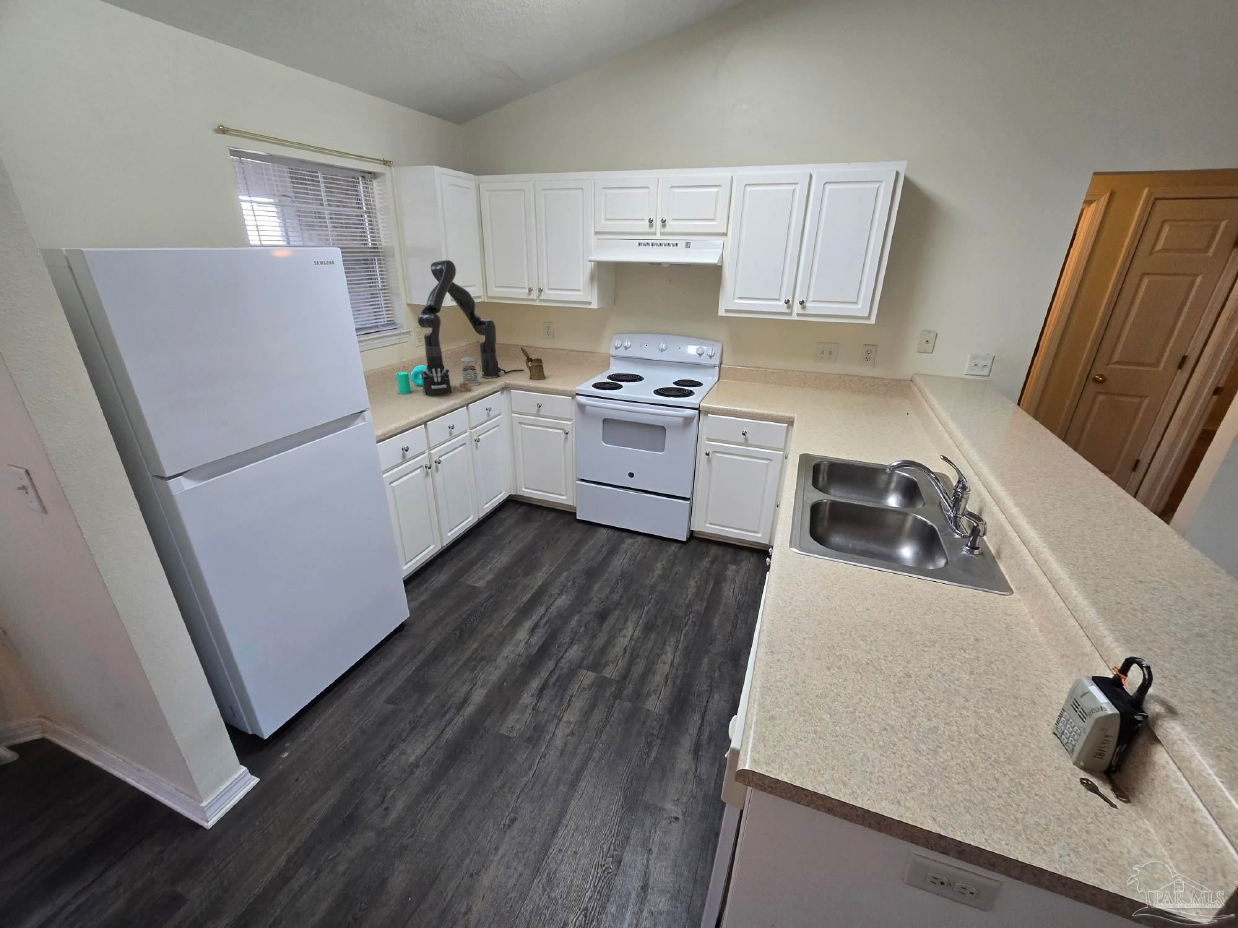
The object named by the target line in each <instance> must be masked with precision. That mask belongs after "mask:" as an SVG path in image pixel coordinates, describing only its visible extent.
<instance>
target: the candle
mask: <svg viewBox="0 0 1238 928" xmlns="http://www.w3.org/2000/svg"><path fill="white" fill-rule="evenodd" d="M395 375H396V381H397V382H396V383H397V388H398V393H399V394H400V395H407V394H411V393H412V391H411V389H412V388H411V383H410V375H409V372H407V371H403V370H402V369H401V371H397V372H396V373H395Z"/></svg>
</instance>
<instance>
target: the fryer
mask: <svg viewBox="0 0 1238 928" xmlns="http://www.w3.org/2000/svg"><path fill="white" fill-rule="evenodd" d="M428 372H429V371H428ZM428 374H429V375H430V376H431V377H432V378H434V377H433V375H432V374H431V373H430V372H429V373H428ZM443 374H444V370H443V371H442V373H441V374H440V377H442V375H443ZM420 376H421V377H422V383H423V386H422V389H423V392H424V395H425V396H428V395H427V388H426V381H425V378H428V377H427V376H426V375H425V374H424V373H423V371H421V374H420ZM436 377H437V375H436ZM446 377H447V378H449V382H450V381H451V379H450V374H449V373H448V374H447V375H446ZM450 383H451V382H450ZM450 390H451V391H452V388H451V386H450Z"/></svg>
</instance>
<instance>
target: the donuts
mask: <svg viewBox="0 0 1238 928" xmlns="http://www.w3.org/2000/svg"><path fill="white" fill-rule="evenodd" d="M426 369H427V365H423V364H422V365H417V366H415V367H414V368H413V370H412V371H411V373H410V380H411V382H412V383H413V384H414V385H415V386H418V387H423V383H422V376H421V371H425V370H426Z"/></svg>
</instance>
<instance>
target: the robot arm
mask: <svg viewBox="0 0 1238 928" xmlns="http://www.w3.org/2000/svg"><path fill="white" fill-rule="evenodd" d="M430 271H431V275H432V276H433V278H434V279H435V280H436V281H437V284H436V285H435V286H434V287H433V288H432V290H431V291H430V293H429V294H428V297H427V300H426V304H425V305H424V307H423V308H422V309H421V310H420V312H419V313H418V316H417V324H418V326H419V327H420V328H423V329H431V331H430V332H426V333H424V334H423V338H424V339H423V340H424V347H425V348H424V349H425V357H426V367H427V369H426V370H425V371H423V373H424V374H425V375H426V376H427V377H428V378H429V379H430V380H431V381H434V382H435V386H439V385H441V380H444V378H445V377H446V375H447V374H449V372H450V370H449V369H448V368H447V367H445V365H444V362H443V361H444V360H443V352H442V347H441V341H440V331H441V325H442V319H441V316H440V315H439V313H440V312H441V310H442V306H443V303H444V300H445V298H446V295H447V293H448V294H449V296H450V297H451V298H452V300H453V301H454V302H455V304H456V305H457V307H458V308H459V309H460V310H461V312H462V313H463V315H464V316H465V317H466V319H467V320H468V321H469V323H470V325H471V327H472V328H473V330H474V332H475V333H476V335H479V336H483V337H484V340H483V341H480V342H479V344H478V346H479V353H480V354H479V356H480V365H481V372H480V374H482V375H481V376H482V378H483V379H493V378H498V377H500V374H501V373H502V372H503V373H504V374H509V373H511V372H523V371H524V368H523V369H521V368H520V369H511V370H508V371H506V369H504V368H501V367H500V366H499V360H498V356H497V346H496V345H497V326H496V323H495V321H494V320H492V319H487V318H486V319H484V318H481V316H479V313H477V303H476V300H475V298H474V297H473V295H472V294H471V293H470V292H469V291H468V290H467V289H466V288H465V287H463V286H461V285H460V284H458V283H456V282H455V281H454V280H455V277H456V275H457V267H456V265H455V262H453V261H452V260H450V259H444V260H438V261H433V262H432V263H431V265H430ZM443 370H444V374H443V375H442V377H440V374H441V373H442V371H443ZM428 371H429V372H430V373H431V374H432V375H433V377H434V378H432V377H431V376H430V375H429V374H428V373H429V372H428ZM436 375H437V378H436ZM437 379H438V381H437ZM437 389H440V388H437Z"/></svg>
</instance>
